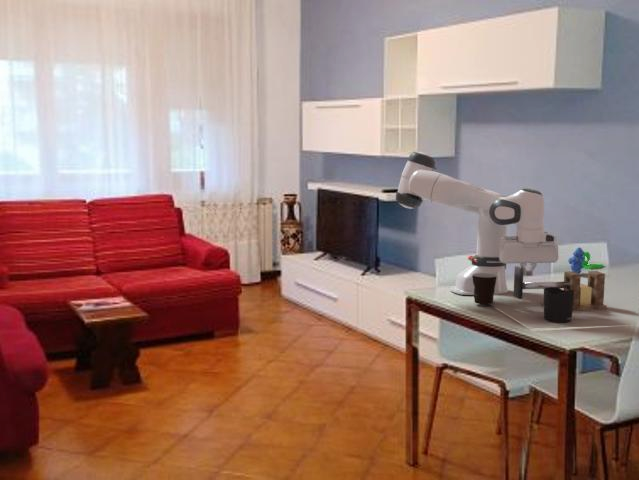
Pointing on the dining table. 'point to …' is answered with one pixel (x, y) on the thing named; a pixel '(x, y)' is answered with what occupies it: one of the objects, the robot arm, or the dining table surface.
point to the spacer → (585, 295)
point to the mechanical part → (591, 266)
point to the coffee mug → (484, 287)
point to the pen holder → (558, 305)
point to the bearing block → (594, 281)
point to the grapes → (577, 260)
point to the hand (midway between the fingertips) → (527, 275)
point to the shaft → (532, 283)
